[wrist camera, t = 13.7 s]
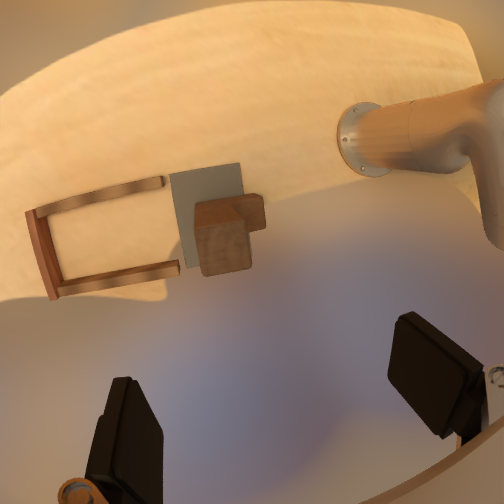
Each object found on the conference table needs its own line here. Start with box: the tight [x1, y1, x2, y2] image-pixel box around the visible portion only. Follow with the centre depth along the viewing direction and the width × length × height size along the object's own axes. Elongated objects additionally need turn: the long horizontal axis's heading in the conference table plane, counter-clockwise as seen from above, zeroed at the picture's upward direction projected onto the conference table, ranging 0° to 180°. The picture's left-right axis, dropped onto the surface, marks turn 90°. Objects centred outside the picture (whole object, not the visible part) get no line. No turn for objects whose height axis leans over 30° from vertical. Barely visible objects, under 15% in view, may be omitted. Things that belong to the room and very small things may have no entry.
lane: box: [25, 176, 180, 301], centre depth 38 cm, size 22×14×4 cm, turn 98°
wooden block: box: [194, 193, 266, 277], centre depth 34 cm, size 9×4×18 cm, turn 98°
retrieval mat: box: [169, 163, 252, 268], centre depth 42 cm, size 10×14×1 cm
